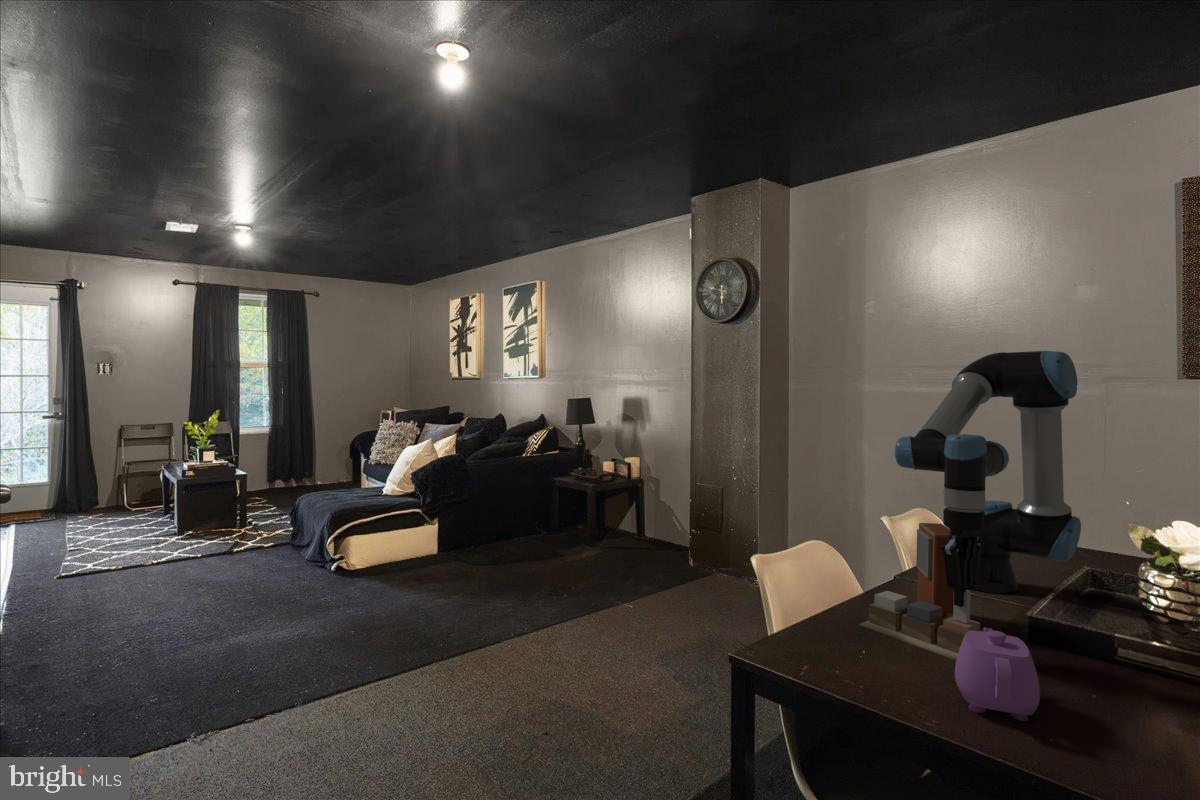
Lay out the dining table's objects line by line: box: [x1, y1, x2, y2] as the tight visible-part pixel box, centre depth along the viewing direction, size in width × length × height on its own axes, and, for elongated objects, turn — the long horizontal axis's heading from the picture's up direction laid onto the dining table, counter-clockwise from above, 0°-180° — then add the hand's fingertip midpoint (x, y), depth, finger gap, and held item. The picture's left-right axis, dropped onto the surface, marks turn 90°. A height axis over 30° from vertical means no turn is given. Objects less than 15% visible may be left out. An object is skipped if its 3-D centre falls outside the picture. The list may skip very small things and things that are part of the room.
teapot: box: [954, 627, 1041, 722], centre depth 112 cm, size 20×12×13 cm, turn 156°
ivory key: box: [873, 590, 908, 612], centre depth 148 cm, size 5×5×4 cm
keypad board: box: [858, 603, 984, 661], centre depth 141 cm, size 12×24×4 cm, turn 34°
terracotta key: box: [943, 617, 981, 635], centre depth 135 cm, size 5×5×4 cm
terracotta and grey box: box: [915, 522, 954, 619], centre depth 153 cm, size 21×7×15 cm
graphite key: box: [907, 600, 942, 624], centre depth 141 cm, size 5×5×4 cm
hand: (961, 620), depth 135 cm, fingers closed
